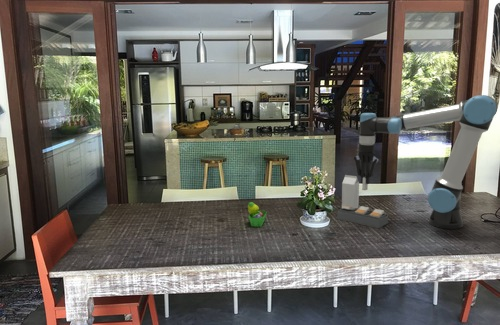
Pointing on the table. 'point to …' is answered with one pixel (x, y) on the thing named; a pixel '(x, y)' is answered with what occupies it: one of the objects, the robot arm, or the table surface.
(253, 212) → the chick basket toy
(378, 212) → the near rocker
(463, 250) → the table surface
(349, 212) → the switch panel
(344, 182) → the milk carton
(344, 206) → the far rocker
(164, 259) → the table surface
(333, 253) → the table surface
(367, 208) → the middle rocker
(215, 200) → the table surface
